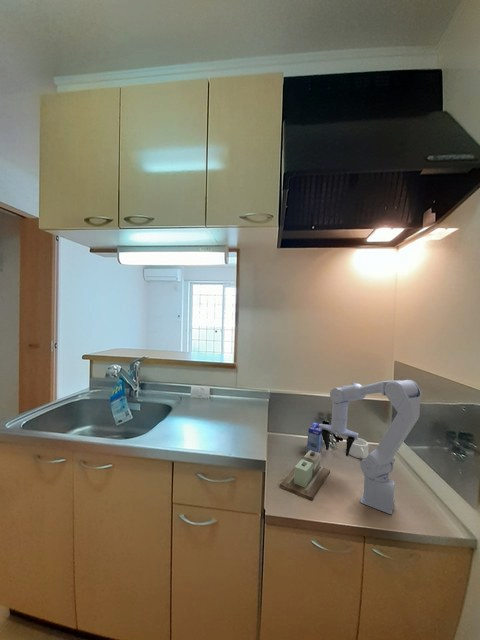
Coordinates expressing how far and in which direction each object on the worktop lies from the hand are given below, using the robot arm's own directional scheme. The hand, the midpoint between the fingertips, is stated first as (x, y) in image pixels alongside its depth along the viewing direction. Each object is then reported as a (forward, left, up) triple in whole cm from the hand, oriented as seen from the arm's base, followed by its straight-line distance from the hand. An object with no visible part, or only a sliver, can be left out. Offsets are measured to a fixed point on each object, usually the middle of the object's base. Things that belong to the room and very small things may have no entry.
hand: (337, 452), depth 110 cm
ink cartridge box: (+13, -14, -10) cm, 21 cm away
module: (+8, +14, -8) cm, 18 cm away
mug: (-4, -25, -10) cm, 27 cm away
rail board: (+8, +10, -9) cm, 16 cm away
